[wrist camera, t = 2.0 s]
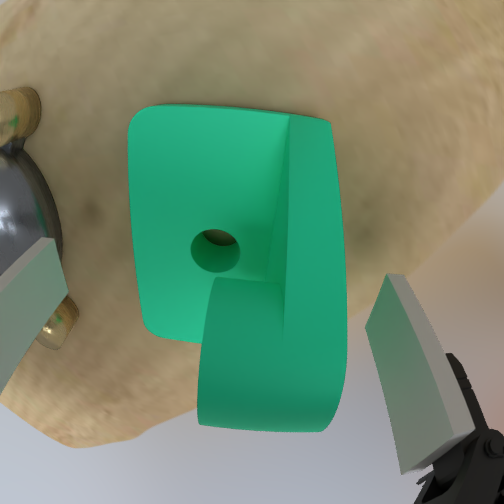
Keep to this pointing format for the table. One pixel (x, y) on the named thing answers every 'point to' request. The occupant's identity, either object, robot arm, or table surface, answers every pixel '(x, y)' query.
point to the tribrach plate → (27, 202)
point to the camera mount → (244, 258)
